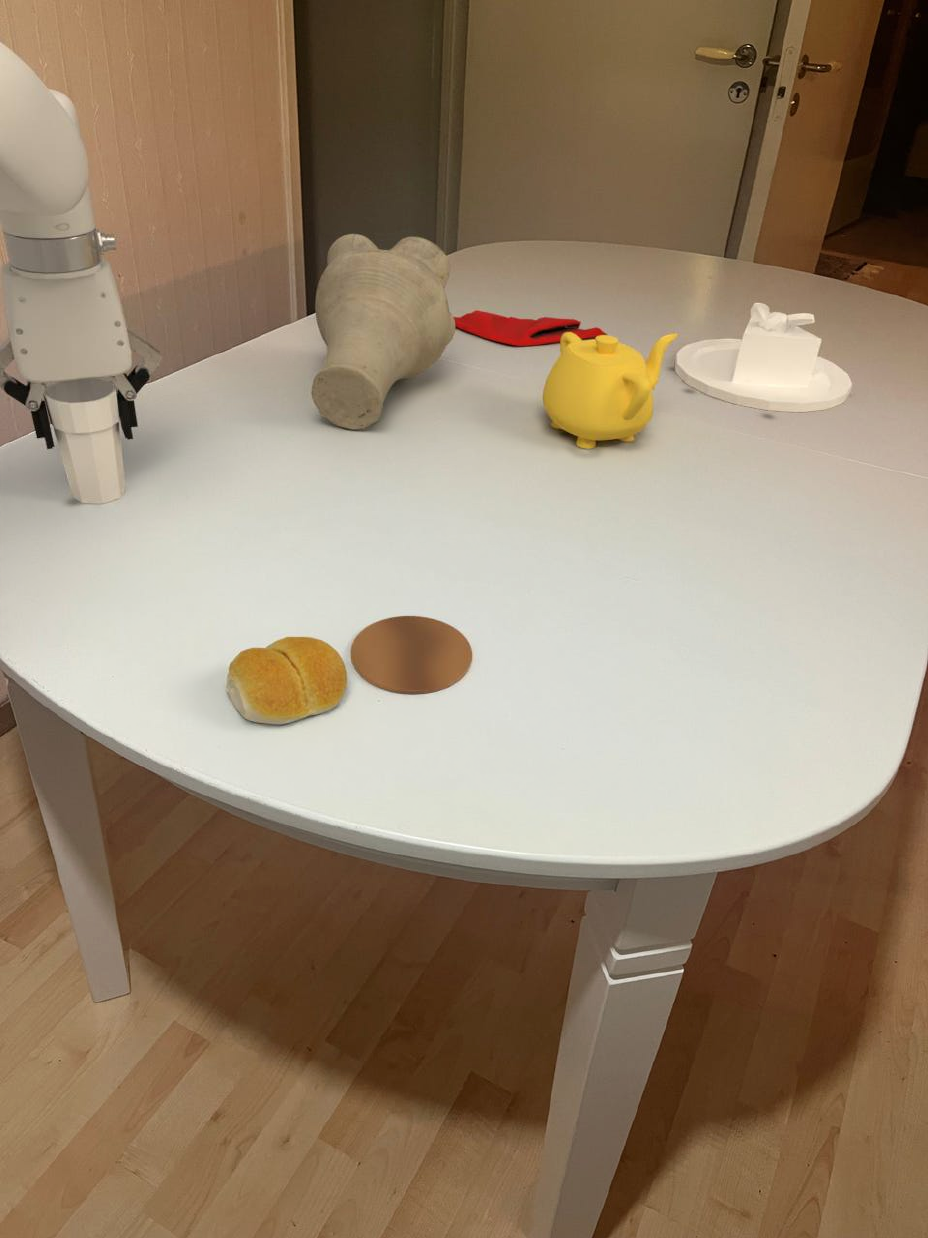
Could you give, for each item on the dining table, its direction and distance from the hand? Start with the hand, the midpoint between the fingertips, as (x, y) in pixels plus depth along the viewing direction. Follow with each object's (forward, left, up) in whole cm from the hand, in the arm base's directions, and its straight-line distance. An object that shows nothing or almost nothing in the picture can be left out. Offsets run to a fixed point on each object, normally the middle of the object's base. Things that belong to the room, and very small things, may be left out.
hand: (88, 437), depth 91 cm
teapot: (+60, -2, -6) cm, 60 cm away
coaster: (+20, -36, -6) cm, 42 cm away
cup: (0, 0, -6) cm, 6 cm away
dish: (+92, +7, -6) cm, 92 cm away
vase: (+34, +15, -6) cm, 38 cm away
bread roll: (+9, -37, -6) cm, 39 cm away
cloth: (+66, +33, -6) cm, 74 cm away
